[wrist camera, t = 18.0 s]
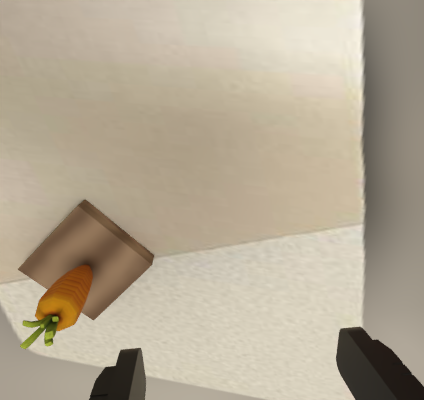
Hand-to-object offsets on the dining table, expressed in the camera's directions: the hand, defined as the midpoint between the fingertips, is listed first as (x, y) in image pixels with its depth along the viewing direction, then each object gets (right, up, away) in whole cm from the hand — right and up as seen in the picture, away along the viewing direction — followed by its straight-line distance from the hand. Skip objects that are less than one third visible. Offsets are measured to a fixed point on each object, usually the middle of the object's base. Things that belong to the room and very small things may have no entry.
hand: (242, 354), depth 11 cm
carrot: (-20, -4, +31) cm, 37 cm away
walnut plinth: (-21, -3, +34) cm, 40 cm away
